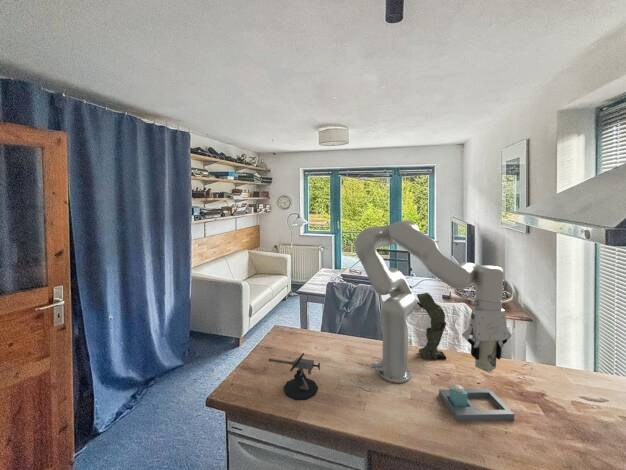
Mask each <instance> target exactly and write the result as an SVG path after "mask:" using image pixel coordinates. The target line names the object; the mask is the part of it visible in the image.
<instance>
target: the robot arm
mask: <svg viewBox="0 0 626 470" xmlns="http://www.w3.org/2000/svg"><path fill="white" fill-rule="evenodd" d="M354 242H355V243H354V250H355V253H356V256H357V258H358V260H359V261H360V263H361V265H362V267H363V269H364V272H365V274H366V276H367V279H368V280H369V282H370V284H371V286H372V288H373V290H374V292H375V293H376V294H378V295H379V296H386V295H390V297H388V298H386V300H384V301H383V303H382V305H381V309H380V313H381V321H382V359H380V360H379V361H380V362H378V363H375V362H373V363H372V362H370V364H369V365H370V366H369V367H370V369H371V370H373V369H374V370H375V372H378V375H379V377H380V378H382V379H383V380H385V381H387V382H390V383H394V384H401V383H403V384H404V383H406V382H408V381H410V380H411V378H412V372H411V370H410V369H409V368H408V346H409V340H408V339H409V330H408V329H409V328H408V323H407V318H408V317H409V316H410V315H411V314H412V313H414V312H415V310H416V309H417V299H416V297H415V294H414V293H413V290H412V288H411V287H410V285H409V283H408V281H407V278H406V277H405V275H404V274H403V273H402V272H401V271H400V270H399V269H397V268H396V267H395V268H394V267H388V266H387V264H386V262H385V260H384V259H383V257H382V255H381V254H379V252H378V251H377V249H378V248H381V247H385V246H387V247H388V246H392V245H397V246H399V247H400V248H402V249H403V250H405V251H406V252H408V253H409V254H411V255H412V256H414V257H415V258H416V259H418V260H419V261H420V262H421V263H422V265H423V266H424V267H425V268H426V269H427V270H428V271H429V272H430V273H431V274H432V275H433V276H434V277H436V278H437V279H438V280H440V281H441V282H443V283H445V284H446V285H448V286H449V287H451V288H453V289H456V290H465V289H466V288H468V287H469V286H471V285H475V295H474V296H475V297H474V300H471V302H470V303H471V305H472V306H473V307H472V310H471V313H470V319H469V327H468V328H467V329H466V330H465V331H463V333H462V334H461V336H462V337H463V338H464V339H465V340H466V342H468V343H469V345H470V346H471V347H470V354H471V356H472V357H473V358H474V359H476V360H478V359H479V348H478V345H479V343H480V341H489V334H490V341H497V355H496V360H497V359H498V360H501V357H502V350H503V349H502V348H504V347H505V346H504V345H505V344H506V343H507V342H508V340H509V339H510V338H511V337H512V333H511V332H509V330H508V329H507V327H508V326H507V316H506V311H505V309H504V308H503V295H504V290H503V289H504V272H505V271H504V269H503V268H502V267H500V266H497V265H495V266H494V265H487V264H486V265H483V264H482V265H481V264H478V263H473V262H468V261H462V262H459V263H456V262H455V261H453V260H451V259H450V258H448V257H447V256H446V255H445V254H444V253H442V252H441V251H440V249H439V247H438V244H437V242H436V240H434V239H432V238H431V237H430V236H428V235H426V234H424V233H423V232H421V231H420V229H419V227H418V225H417V224H416V223H415V222H414V221H412V220H401V221H396V222H394V223H392V224H387V225H381V226H372V227H367V228H364V229H362V230H361V231H360V232H359V233H358V235H357V236H356V238H355V240H354ZM470 336H471V337H470Z"/></svg>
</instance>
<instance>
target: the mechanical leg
mask: <svg viewBox="0 0 626 470" xmlns="http://www.w3.org/2000/svg"><path fill="white" fill-rule="evenodd" d="M416 297H417V299H418V301H416V305H417V306H418V307H419V308H421V309H423V310H424V311H426V314H427V315H428V316H429V318H430V319H431V320H430V327H427V328H426V329H425V330H426V331H425V332H426V333H425V334H426V335H425V336H426V337H425V338H426V339H427V340H426V341H427V342H426V344H425V345H424V346H423V347H421V348H418V353H419V355H420V358H421V359H424V360H425V359H426V360H436V361H437V360H438V361H439V360H447V355H445V353H444V352H443V351H441V350H439V349H438V347H439V345H440V343H441V340H442V337H443V334H444V331H445V329H446V327H447V322H446V321H445V320H446V313H445V311H444V309H443V308H442V306H440V304H437V303H436V302H435V300H434V299H433V297H432V295H431V293H428V292H424V293H418V294H417V295H416Z"/></svg>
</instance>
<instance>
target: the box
mask: <svg viewBox="0 0 626 470" xmlns="http://www.w3.org/2000/svg"><path fill="white" fill-rule="evenodd" d="M478 348H479V359H478V360H476V359H475V358H474V359H475V361H474V362H475V363H474V366H475V368H478V369H479V370H482V371H484V372H486V373H489V372H492V371H493V370H495V369H496V367H497V358H496V355H497V341H490V334H489V341H480V343H479V345H478Z"/></svg>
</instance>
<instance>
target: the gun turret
mask: <svg viewBox="0 0 626 470" xmlns="http://www.w3.org/2000/svg"><path fill="white" fill-rule="evenodd" d="M304 355H305V353H304V352H302V354H301V355H300V356H299V357H297V358H296V359H294V360H293V361H288V360H282V359H274V358H268V362H271V363H278V364H285V365H290V366H291V368H290V370H289V372H293V371H294V369H298V370H296V373H295V374H294V375H293V377H294V378H293V379H290V380H288V381H286V383H285V385H284V386H283V389H282V390H283V392H284V394H286V395H285V397H287V396H288V397H287V398H289V397H290V398H289V399H291V398H292V399H291V400H293V399H294V401H307V400H309V399H311V398H312V397H315V396H316V394H317V392H318V390H319V386H318V385H317V383H316V381H315V380H313V379H310V378H308V377H307V376H306V375H305V372H304V370H307V374H308V375H311V374H312V370H313V369H314V367H316V368H317V370H318V371H320V370H321V364H320V362H318V363H317V364H315V361H314V359H307V358H306V359H305V358H303V356H304Z"/></svg>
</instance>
